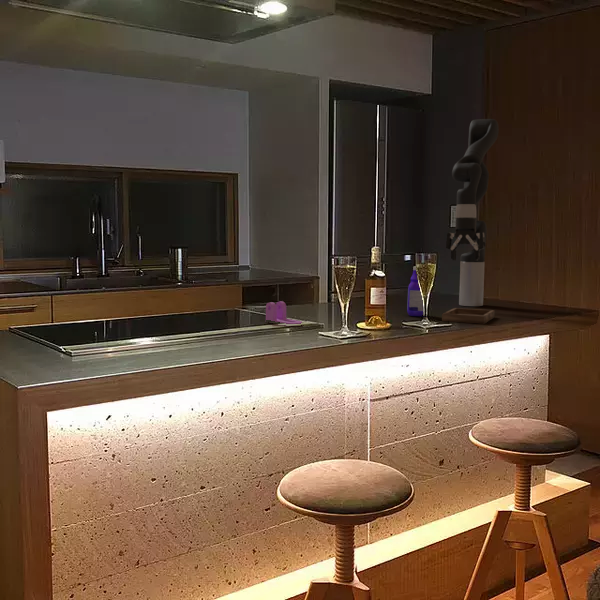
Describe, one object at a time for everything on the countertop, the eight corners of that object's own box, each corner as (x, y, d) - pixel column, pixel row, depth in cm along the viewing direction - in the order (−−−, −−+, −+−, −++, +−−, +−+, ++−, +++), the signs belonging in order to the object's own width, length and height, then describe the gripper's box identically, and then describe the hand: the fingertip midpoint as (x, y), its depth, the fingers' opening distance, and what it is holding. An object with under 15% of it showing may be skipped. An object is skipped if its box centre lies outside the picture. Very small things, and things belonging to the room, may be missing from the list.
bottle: (427, 315, 277) (428, 266, 275) (428, 317, 271) (430, 267, 269) (406, 314, 277) (408, 265, 276) (407, 316, 272) (408, 266, 270)
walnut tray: (454, 314, 278) (454, 307, 278) (494, 317, 272) (494, 310, 272) (442, 321, 262) (442, 313, 261) (484, 323, 256) (484, 316, 256)
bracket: (265, 323, 253) (265, 302, 252) (278, 321, 257) (278, 300, 256) (292, 328, 244) (292, 305, 243) (305, 326, 247) (305, 304, 247)
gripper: (487, 217, 291) (486, 260, 291) (450, 217, 298) (450, 260, 299) (481, 216, 284) (480, 260, 285) (444, 216, 291) (443, 260, 292)
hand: (465, 260), depth 292 cm, fingers open, 8 cm apart
